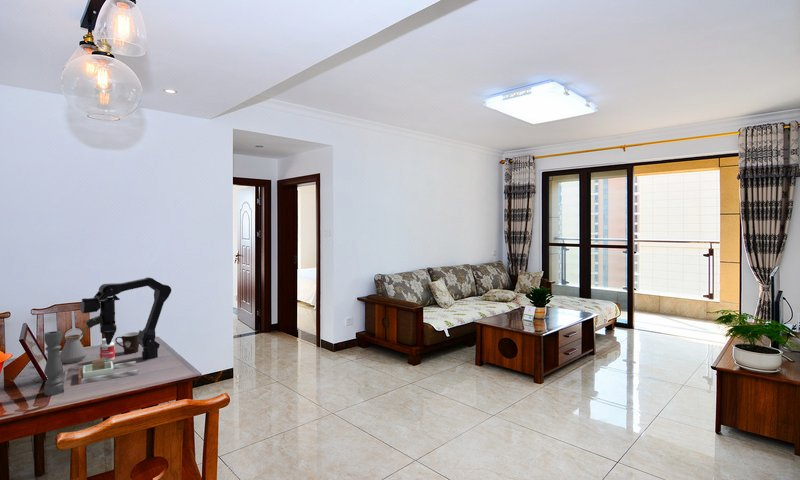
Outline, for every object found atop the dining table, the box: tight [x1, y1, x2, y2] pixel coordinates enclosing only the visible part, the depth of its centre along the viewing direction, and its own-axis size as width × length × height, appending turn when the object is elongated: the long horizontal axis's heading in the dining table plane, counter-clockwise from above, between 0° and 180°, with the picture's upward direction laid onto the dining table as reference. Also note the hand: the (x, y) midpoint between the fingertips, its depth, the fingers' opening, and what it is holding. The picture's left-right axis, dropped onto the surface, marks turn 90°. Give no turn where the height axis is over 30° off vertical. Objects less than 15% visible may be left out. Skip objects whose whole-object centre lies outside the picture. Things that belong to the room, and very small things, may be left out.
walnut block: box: [91, 358, 105, 371], centre depth 191 cm, size 4×4×6 cm
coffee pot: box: [59, 326, 92, 364], centre depth 220 cm, size 21×12×15 cm, turn 8°
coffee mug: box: [114, 331, 140, 355], centre depth 231 cm, size 12×9×10 cm
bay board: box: [78, 360, 140, 385], centre depth 194 cm, size 22×16×4 cm
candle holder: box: [43, 330, 65, 397], centre depth 174 cm, size 6×6×25 cm
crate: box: [82, 360, 115, 379], centre depth 191 cm, size 11×12×4 cm
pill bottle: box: [99, 337, 116, 362], centre depth 217 cm, size 6×6×11 cm
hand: (108, 342), depth 203 cm, fingers open, 9 cm apart
